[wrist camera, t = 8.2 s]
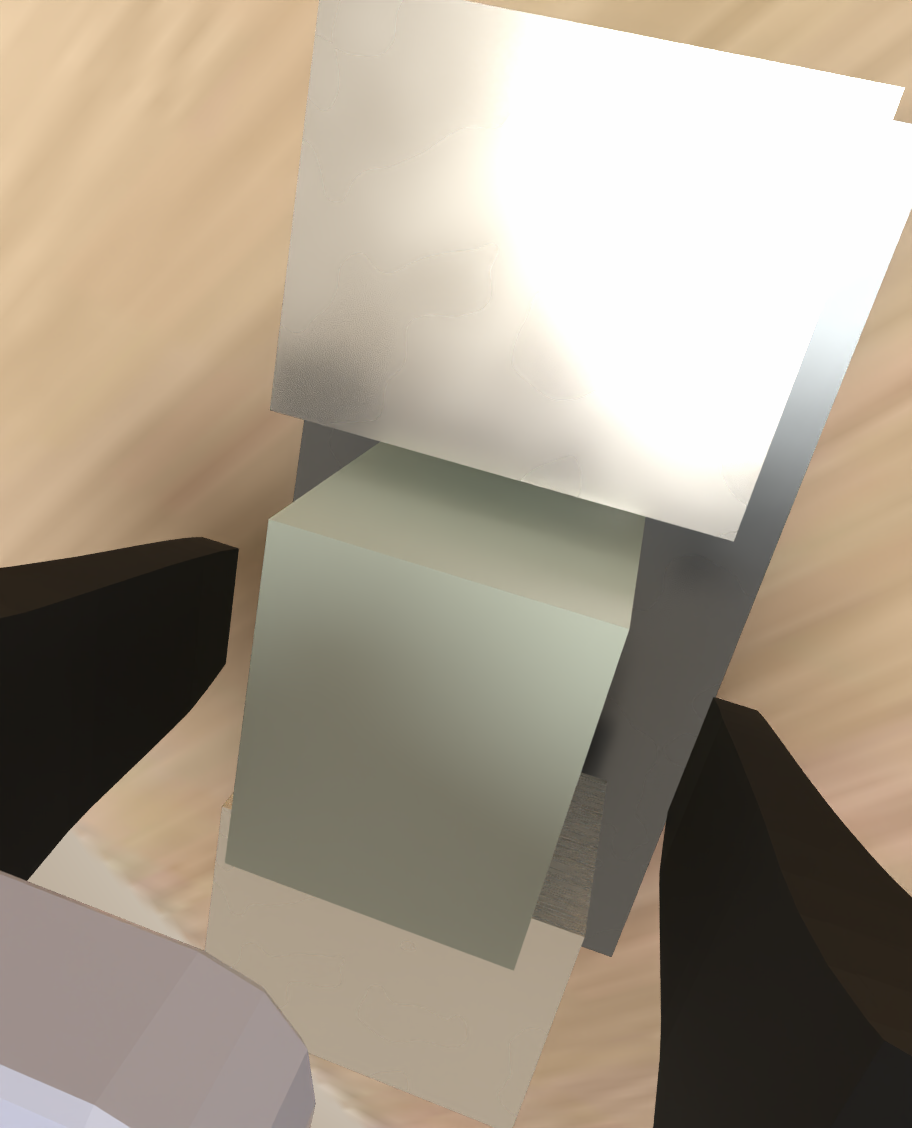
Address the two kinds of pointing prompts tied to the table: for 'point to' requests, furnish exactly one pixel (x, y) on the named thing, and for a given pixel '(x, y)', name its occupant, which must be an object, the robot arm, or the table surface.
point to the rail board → (562, 418)
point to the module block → (427, 691)
